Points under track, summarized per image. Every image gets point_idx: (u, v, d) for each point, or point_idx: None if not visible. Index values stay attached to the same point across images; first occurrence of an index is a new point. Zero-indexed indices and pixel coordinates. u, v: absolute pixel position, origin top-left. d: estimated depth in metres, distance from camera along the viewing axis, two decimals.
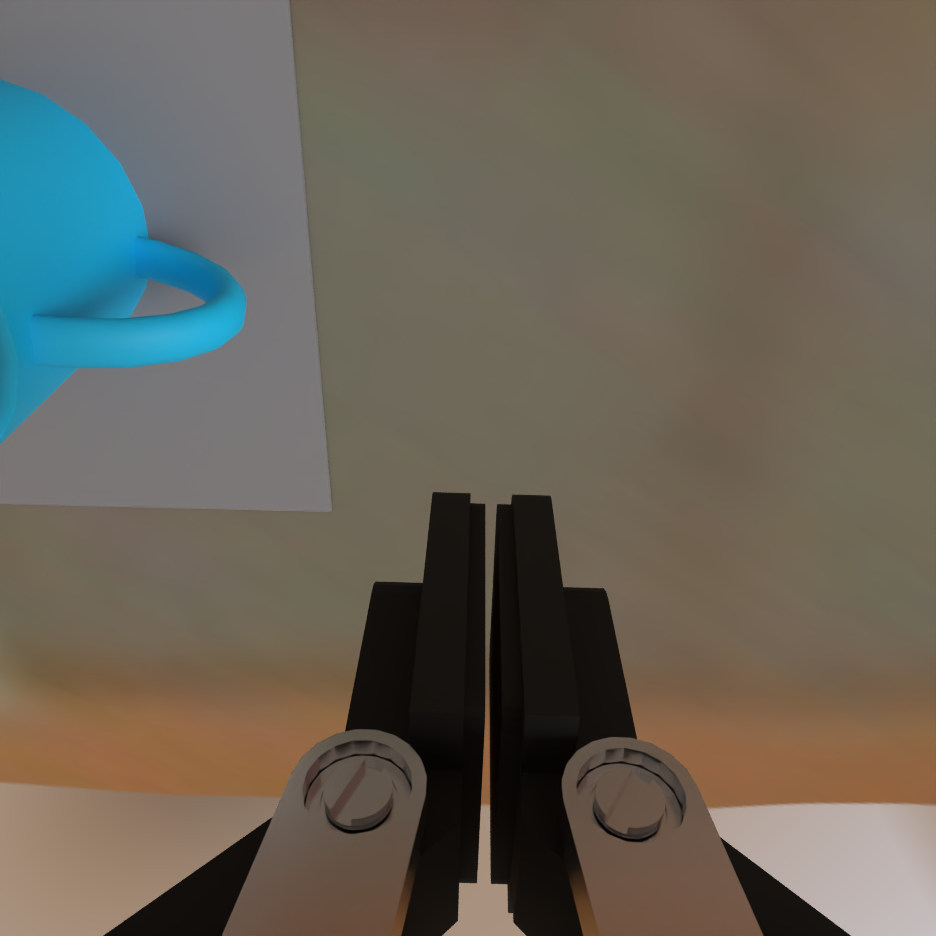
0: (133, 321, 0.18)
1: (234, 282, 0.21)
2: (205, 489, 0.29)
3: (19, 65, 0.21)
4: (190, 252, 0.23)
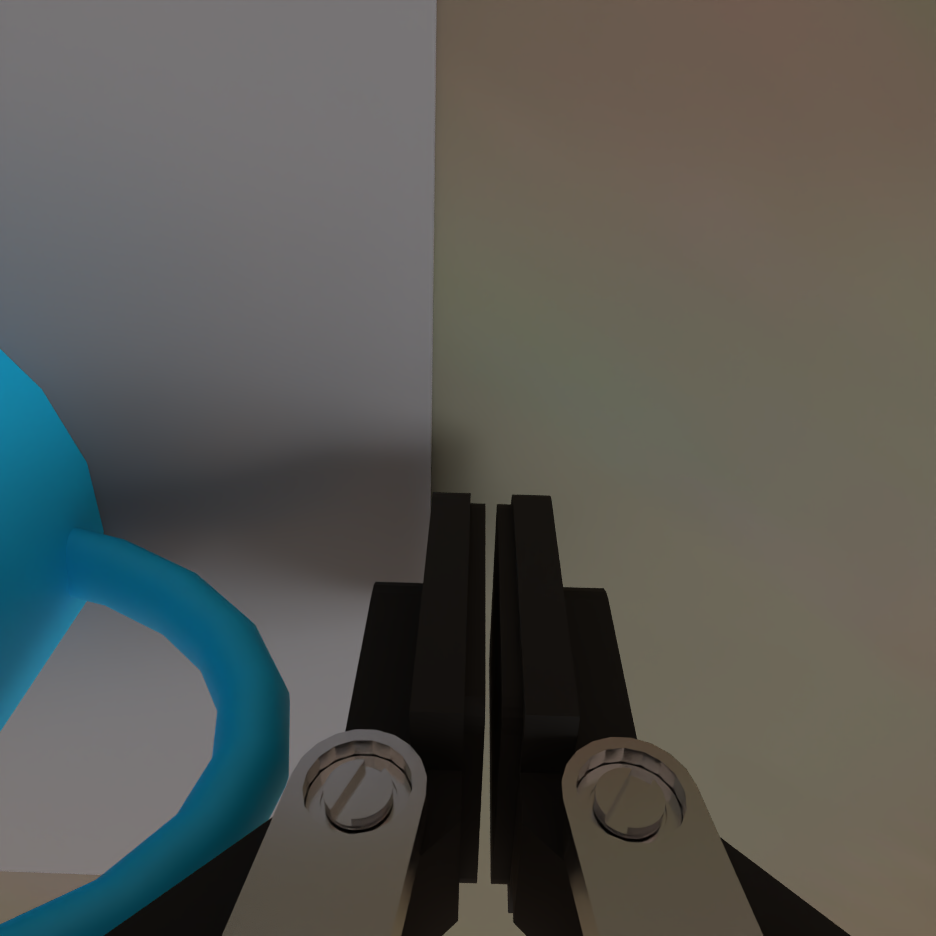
0: None
1: (267, 678, 0.10)
2: None
3: None
4: (176, 572, 0.11)
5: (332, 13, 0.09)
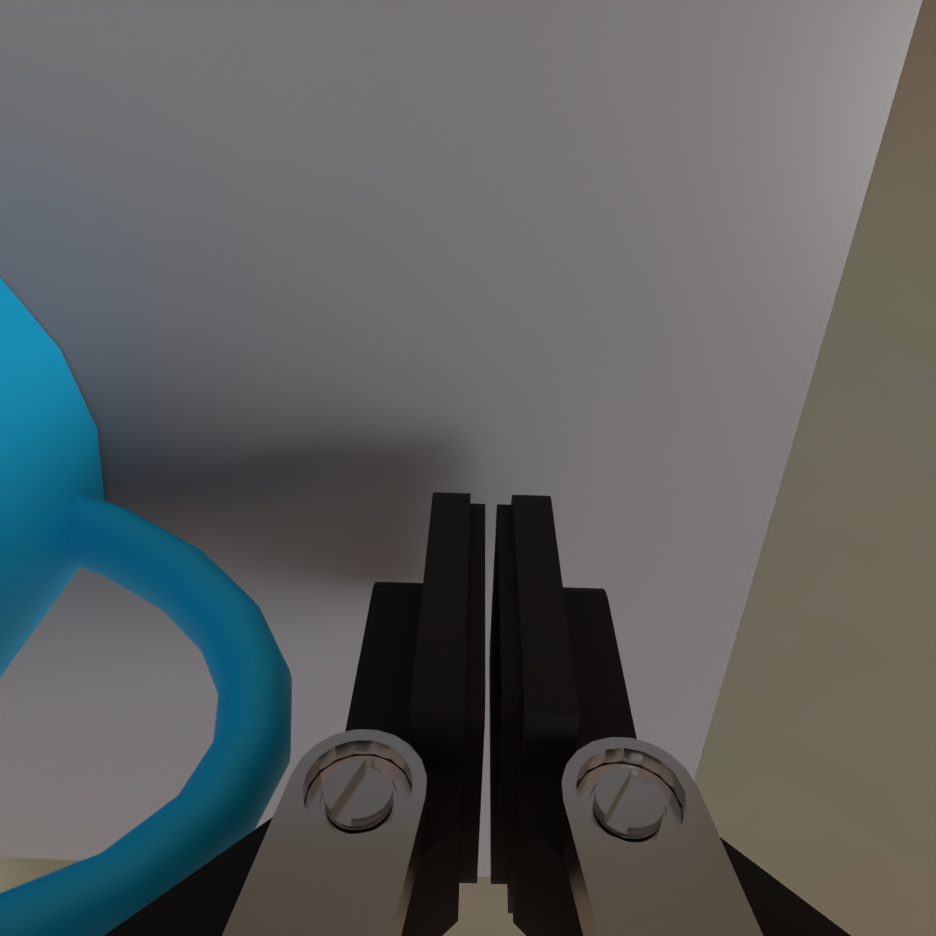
0: (16, 920, 0.07)
1: (273, 662, 0.10)
2: None
3: (268, 196, 0.10)
4: (183, 547, 0.11)
5: (813, 12, 0.09)
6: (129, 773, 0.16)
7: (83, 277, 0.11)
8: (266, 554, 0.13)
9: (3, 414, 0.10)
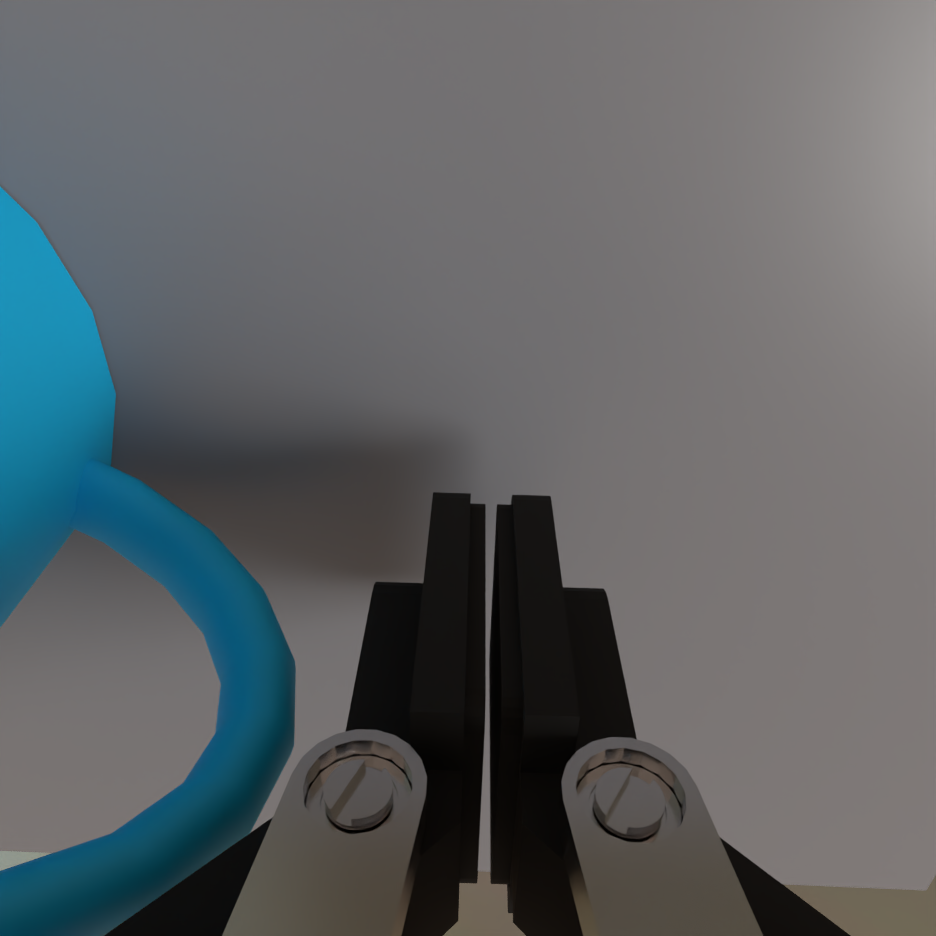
0: (34, 897, 0.07)
1: (282, 653, 0.10)
2: None
3: (730, 210, 0.10)
4: (194, 526, 0.11)
5: None
6: None
7: (520, 289, 0.11)
8: (625, 563, 0.13)
9: (36, 373, 0.09)
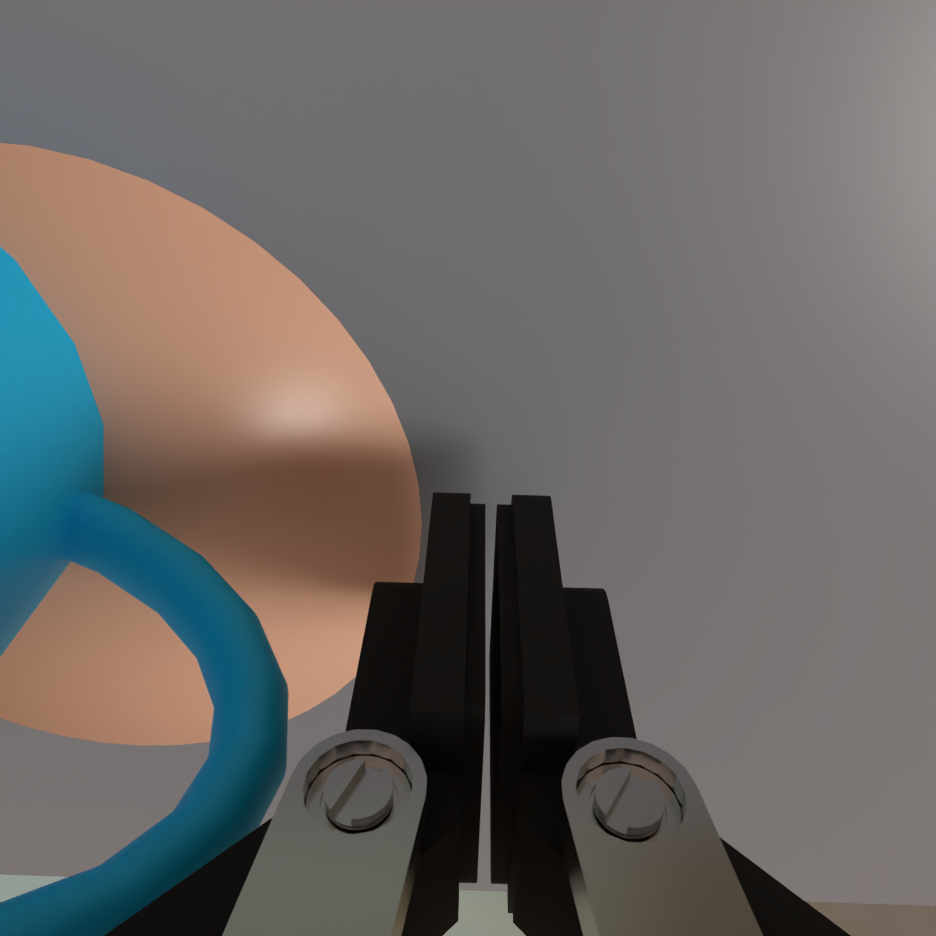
0: (15, 934, 0.07)
1: (273, 676, 0.10)
2: None
3: None
4: (185, 552, 0.11)
5: None
6: (819, 813, 0.16)
7: None
8: None
9: (17, 409, 0.10)
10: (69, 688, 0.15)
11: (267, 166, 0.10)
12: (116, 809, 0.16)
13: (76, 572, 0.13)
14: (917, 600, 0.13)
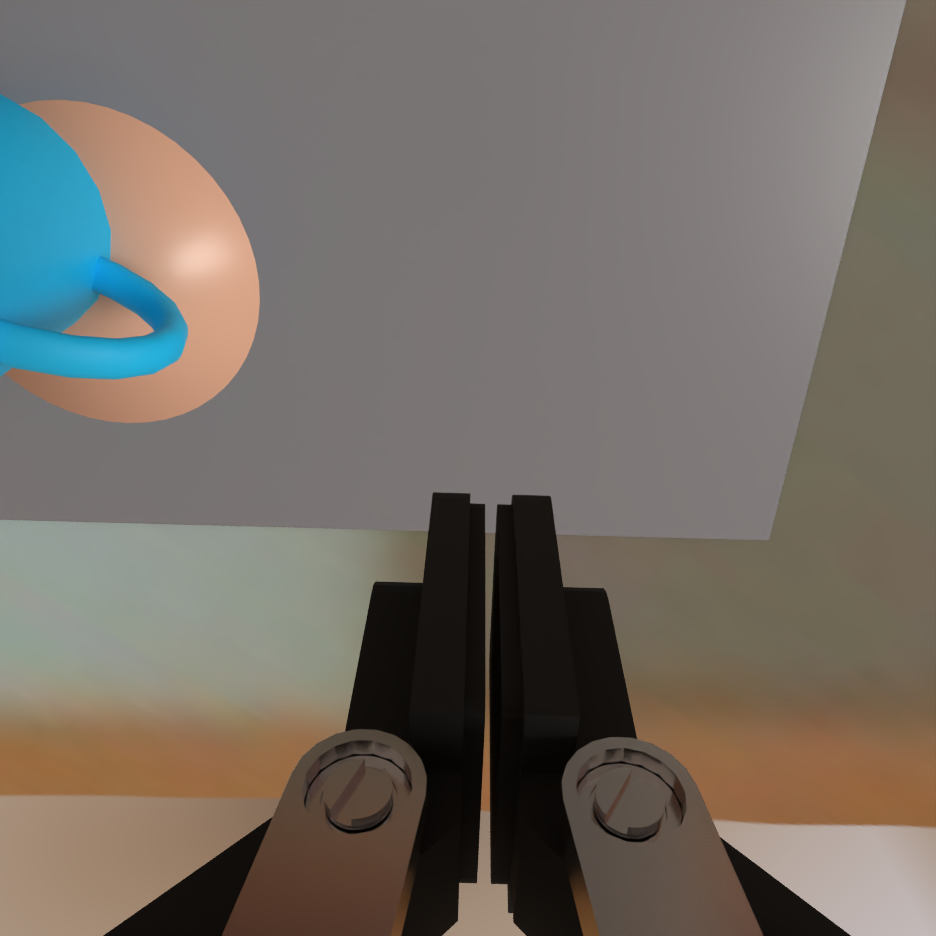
0: (84, 339, 0.21)
1: (180, 317, 0.24)
2: (659, 519, 0.31)
3: (625, 145, 0.25)
4: (146, 281, 0.25)
5: (849, 68, 0.23)
6: (488, 465, 0.30)
7: (539, 182, 0.25)
8: (590, 322, 0.27)
9: (77, 205, 0.24)
10: (91, 386, 0.29)
11: (179, 110, 0.24)
12: (114, 469, 0.30)
13: (97, 312, 0.27)
14: (498, 323, 0.27)
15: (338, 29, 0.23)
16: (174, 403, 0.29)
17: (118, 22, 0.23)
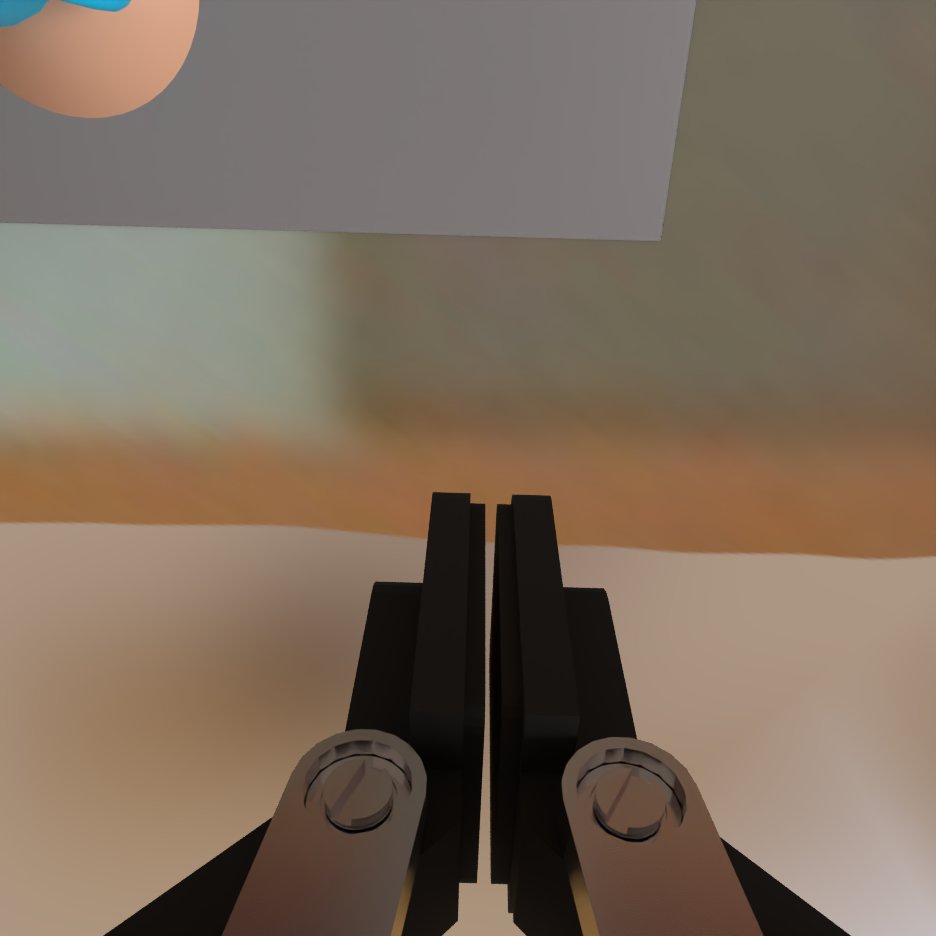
0: None
1: None
2: (562, 219, 0.35)
3: None
4: None
5: None
6: (407, 161, 0.34)
7: None
8: (489, 9, 0.31)
9: None
10: (56, 80, 0.33)
11: None
12: (78, 167, 0.34)
13: (58, 1, 0.31)
14: (409, 11, 0.31)
15: None
16: (129, 98, 0.33)
17: None
